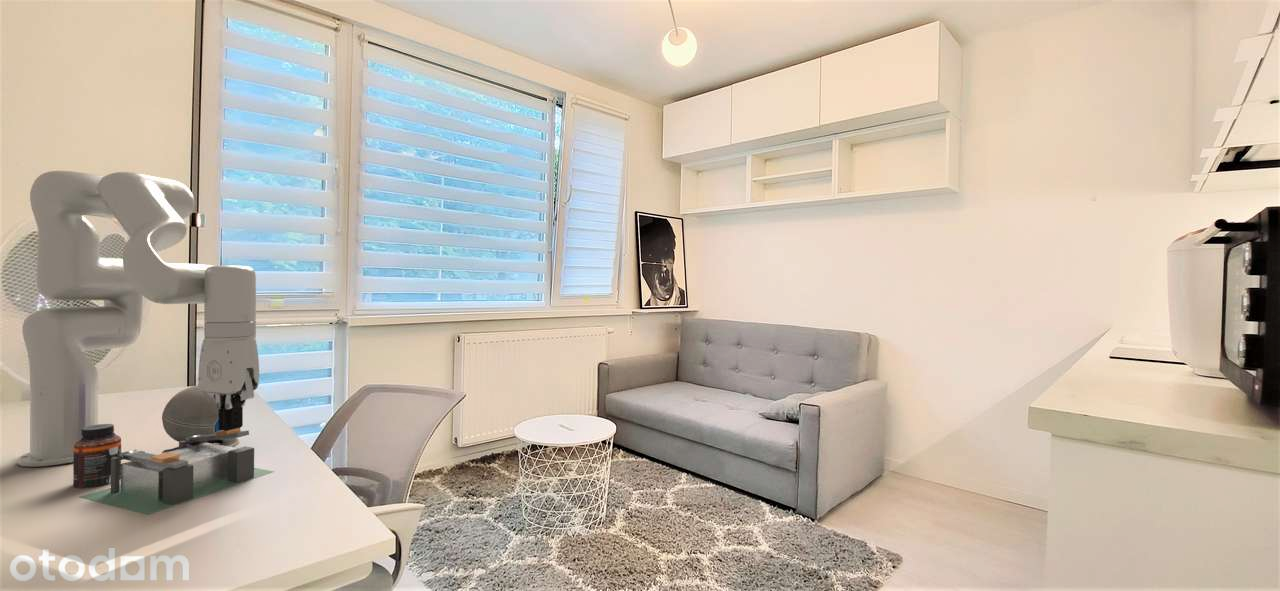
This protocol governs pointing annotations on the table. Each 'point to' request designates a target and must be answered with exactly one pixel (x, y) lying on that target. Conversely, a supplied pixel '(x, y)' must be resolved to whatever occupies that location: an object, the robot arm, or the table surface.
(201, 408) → the grey egg-shaped pod
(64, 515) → the table surface
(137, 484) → the plate
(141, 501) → the board
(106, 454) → the supplement bottle
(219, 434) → the strap
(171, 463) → the strap
